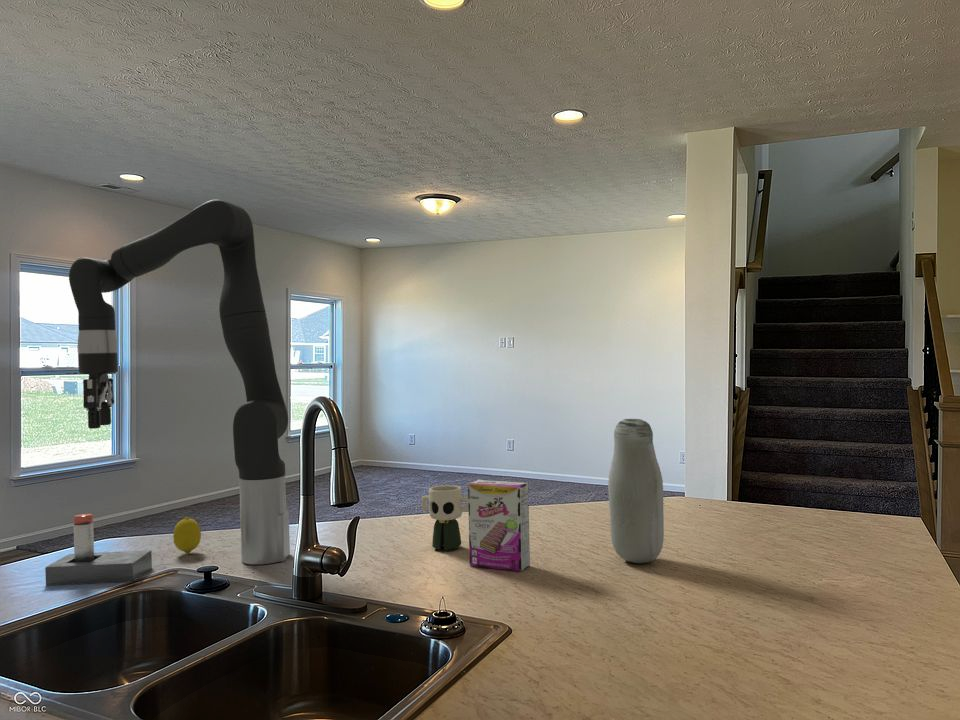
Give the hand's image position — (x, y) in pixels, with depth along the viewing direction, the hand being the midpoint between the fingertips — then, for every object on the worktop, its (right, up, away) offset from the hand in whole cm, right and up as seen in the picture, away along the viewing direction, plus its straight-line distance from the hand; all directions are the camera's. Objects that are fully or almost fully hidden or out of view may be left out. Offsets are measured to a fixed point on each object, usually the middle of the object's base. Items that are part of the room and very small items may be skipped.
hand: (100, 426), depth 155 cm
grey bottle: (+113, -25, -14) cm, 117 cm away
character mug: (+75, -26, -1) cm, 79 cm away
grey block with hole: (+8, -28, -14) cm, 32 cm away
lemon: (+19, -28, 0) cm, 34 cm away
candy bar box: (+86, -26, -15) cm, 91 cm away
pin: (+5, -28, -15) cm, 32 cm away
